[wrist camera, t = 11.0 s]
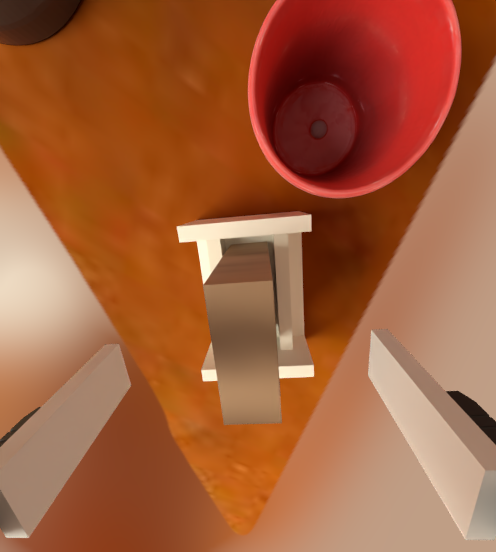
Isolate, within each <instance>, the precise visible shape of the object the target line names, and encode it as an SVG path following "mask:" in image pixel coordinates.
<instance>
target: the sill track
mask: <svg viewBox="0 0 496 552" xmlns="http://www.w3.org/2000/svg"><path fill="white" fill-rule="evenodd" d="M177 231H178V237H179V242H190V241H197V245H198V252H199V258H200V265H201V272H202V278H203V285H204V283H205V282H206V280H207V279H208V277H209V276H210V274H211V273H212V271H213V270H214V269H215V267H216V266H217V264H218V263H219V261H220V260H221V258H222V257H223V255H224V254H225V252H226V251H227V249H228V248H229V246H230V245H231V244H242V243H254V242H266V241H267V244H268V251H269V258H270V266H271V273H272V280H273V290H274V303H275V319H276V334H277V350H278V365H279V378H294V377H314V364H313V361H312V358H311V355H310V352H309V348H308V345H307V342H306V339H305V336H304V305H303V270H302V234H301V232H310V231H312V228H311V214H307V213H304V212H301V211H294V212H283V213H272V214H260V215H249V216H238V217H227V218H216V219H205V220H196V221H193V222H190V223H186V224H183V225H180V226H177ZM201 372H202V377H203V381H217V374H216V368H215V361H214V355H213V348H212V341H211V344H210V347H209V349H208V352H207V355H206V358H205V361H204V364H203V367H202V369H201Z"/></svg>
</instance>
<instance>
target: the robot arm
mask: <svg viewBox="0 0 496 552" xmlns="http://www.w3.org/2000/svg"><path fill="white" fill-rule="evenodd" d="M79 2H80V0H0V43H2V44H8V45H27V44H32V43H36V42H39V41H41V40H44V39H46V38H48V37H50V36H51V35H53V34H54V33H56V32H57V31H58V30H59V29H60V28H62V27H63V25H64V24H65V23H66V22H67V21H68V20H69V19H70V17H71V16H72V14H73V13H74V11H75V10H76V8H77V6H78V4H79ZM368 376H369V378H370V379H371V381H372V383H373V384H374V386H375V388H376V390H377V391H378V393H379V395H380V396H381V398H382V400H383V401H384V403H385V405H386V406H387V408H388V410H389V412H390V413H391V415H392V416H393V418H394V420H395V422H396V423H397V425H398V427H399V428H400V430H401V432H402V433H403V435H404V437H405V439H406V440H407V442H408V444H409V445H410V447H411V449H412V450H413V452H414V454H415V455H416V457H417V459H418V461H419V462H420V464H421V466H422V467H423V469H424V471H425V472H426V474H427V476H428V477H429V479H430V481H431V482H432V484H433V486H434V488H435V489H436V491H437V493H438V494H439V496H440V498H441V500H442V501H443V503H444V505H445V506H446V508H447V510H448V511H449V512H450V515H451V516H452V518H453V520H454V521H455V523H456V525H457V527H458V528H459V530H460V532H461V533H462V535H463V537H464V538H465V540H495V537H496V421H495V420H494V419H493V418H490V417H489V415H488V414H487V413H486V412H485V411H484V410H483V409H482V408H481V407H480V406H479V405H478V404H477V403H476V402H475V401H473V400H472V399H470V398H469V397H467V396H465V395H464V394H462V393H460V392H459V391H445V390H444V389H443V388H442V387H441V386H440V385H439V384H438V383H437V382H436V381H435V380H434V378H432V377H431V375H430V374H429V373H428V372H427V371H426V370H425V369H424V368H423V367H422V366H421V365H420V363H418V361H417V360H416V359H415V358H414V357H413V356H412V355H411V354H410V353H409V352H408V351H407V350H406V349H405V347H404V346H403V345H402V344H401V343H400V342H399V341H398V340H397V339H396V338H395V337H394V336H393V335H392V333H391V332H390V331H389V330H388V329H379V330H371V343H370V356H369V370H368ZM130 386H131V383H130V380H129V377H128V373H127V370H126V367H125V363H124V359H123V356H122V353H121V349H120V346H119V344H105V345H104V346H103V347H102V348H101V349H100V350H99V351H98V352H97V353H96V354H95V355H94V356H93V357H92V358H91V359H90V360H89V361H88V362H87V363H86V364H85V365H84V366H83V367H82V368H81V369H80V370H79V371H78V372H77V373H76V374H75V375H73V376H72V377H71V379H69V380H68V381H67V383H65V384H64V385H63V386H62V387H61V388H60V389H59V390H58V391H57V392H56V393H55V394H54V395H53V396H52V397H51V398H50V399H49V400H48V401H47V402H46V403H45V404H44V405H43V406H42V407H39V408H37V409H35V410H34V411H32V412H31V413H30V414H28V415H27V416H25V417H24V418H23V419H22V420H20V422H18V423H17V424H16V425H15V426H14V427H13V428H12V429H11V431H10V432H8V433H7V434H6V435H5V436H4V437H3V438H2V439H0V528H1V530H2V531H3V533H4V534H5V536H6V538H29V537H30V535H31V534H32V532H33V531H34V529H35V528H36V526H37V525H38V523H39V522H40V520H41V519H42V517H43V516H44V514H45V513H46V511H47V510H48V508H49V507H50V505H51V504H52V502H53V501H54V499H55V498H56V497H57V495H58V493H59V492H60V491H61V489H62V488H63V486H64V485H65V483H66V482H67V480H68V479H69V477H70V476H71V474H72V473H73V471H74V470H75V468H76V467H77V465H78V464H79V462H80V461H81V459H82V458H83V456H84V455H85V453H86V452H87V450H88V449H89V447H90V446H91V444H92V443H93V441H94V440H95V438H96V437H97V435H98V434H99V432H100V431H101V429H102V428H103V426H104V425H105V423H106V422H107V421H108V419H109V417H110V416H111V415H112V413H113V412H114V410H115V408H116V407H117V406H118V404H119V403H120V401H121V399H122V398H123V397H124V395H125V394H126V392H127V390H128V389H129V388H130Z"/></svg>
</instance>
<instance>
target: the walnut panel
mask: <svg viewBox="0 0 496 552" xmlns="http://www.w3.org/2000/svg"><path fill="white" fill-rule="evenodd" d="M203 288H204V295H205V301H206V308H207V315H208V321H209V328H210V335H211V341H212V348H213V355H214V361H215V368H216V374H217V381H218V388H219V394H220V401H221V408H222V414H223V421H224V425H230V424H268V423H282V418H281V403H280V381H279V365H278V350H277V334H276V319H275V303H274V290H273V280H272V273H271V266H270V258H269V251H268V244H267V241H266V242H254V243H242V244H231V245H230V246H229V248H228V249H227V251H226V252H225V254H224V255H223V257H222V258H221V260H220V261H219V263H218V264H217V266H216V267H215V269H214V270H213V271H212V273H211V274H210V276H209V277H208V279H207V280H206V282H205V283H204V285H203Z"/></svg>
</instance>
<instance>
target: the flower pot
mask: <svg viewBox="0 0 496 552" xmlns="http://www.w3.org/2000/svg"><path fill="white" fill-rule="evenodd" d="M461 52H462V47H461V34H460V27H459V21H458V18H457V14H456V10H455V8H454V5H453V2H452V0H276V2H275V3H274V5H273V6H272V8H271V9H270V11H269V13H268V15H267V16H266V18H265V20H264V22H263V24H262V27H261V29H260V32H259V35H258V37H257V40H256V43H255V46H254V50H253V54H252V58H251V63H250V70H249V78H248V102H249V112H250V118H251V123H252V127H253V130H254V133H255V136H256V139H257V141H258V143H259V145H260V148H261V150H262V151H263V153H264V155H265V157H266V158H267V160H268V161H269V163H270V164H271V165H272V167H273V168H274V169H275V170H276V171H277V172H278V173H279V174H280V175H281V176H282V177H283V178H284V179H286V180H287V181H288V182H290V183H291V184H292V185H294V186H296V187H297V188H299V189H301V190H303V191H305V192H308V193H310V194H313V195H317V196H321V197H327V198H350V197H356V196H361V195H364V194H367V193H370V192H373V191H375V190H378V189H380V188H382V187H384V186H386V185H387V184H389V183H391V182H393V181H394V180H395V179H397V178H398V177H400V176H401V175H402V174H403V173H405V172H406V171H407V170H408V169H409V168H410V167H411V166H412V165H413V164H415V163H416V161H417V160H418V159H419V158H420V157H421V156H422V155H423V154H424V153H425V151H426V150H427V149H428V147H429V146H430V145H431V143H432V142H433V141H434V139H435V137H436V136H437V134H438V132H439V131H440V129H441V127H442V125H443V123H444V121H445V119H446V117H447V115H448V113H449V110H450V108H451V105H452V103H453V100H454V97H455V94H456V90H457V86H458V81H459V74H460V67H461Z"/></svg>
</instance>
